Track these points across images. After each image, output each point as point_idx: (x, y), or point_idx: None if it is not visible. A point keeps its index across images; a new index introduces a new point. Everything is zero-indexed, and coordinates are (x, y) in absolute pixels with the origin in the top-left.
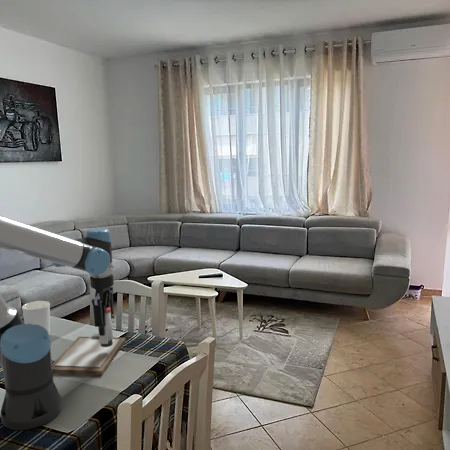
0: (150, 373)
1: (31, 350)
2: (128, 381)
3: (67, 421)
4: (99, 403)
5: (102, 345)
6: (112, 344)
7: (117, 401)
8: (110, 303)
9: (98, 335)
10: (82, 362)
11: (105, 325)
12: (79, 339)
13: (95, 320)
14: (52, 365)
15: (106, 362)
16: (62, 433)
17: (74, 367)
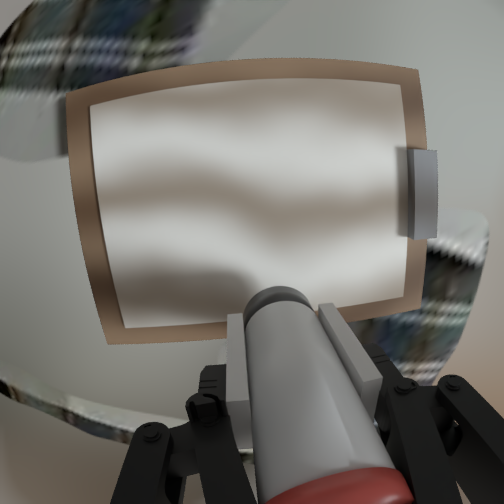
0: None
1: None
2: (117, 416)
3: None
4: (10, 372)
5: (245, 313)
6: (351, 288)
7: (36, 407)
8: (474, 490)
9: (423, 182)
10: (137, 229)
11: (239, 445)
12: (386, 84)
13: (122, 482)
14: (96, 91)
15: (175, 335)
16: None
17: (95, 211)
